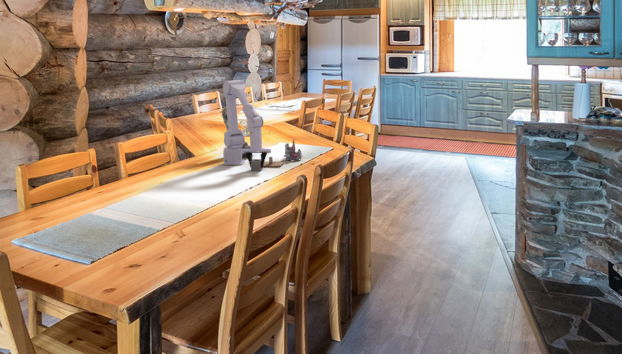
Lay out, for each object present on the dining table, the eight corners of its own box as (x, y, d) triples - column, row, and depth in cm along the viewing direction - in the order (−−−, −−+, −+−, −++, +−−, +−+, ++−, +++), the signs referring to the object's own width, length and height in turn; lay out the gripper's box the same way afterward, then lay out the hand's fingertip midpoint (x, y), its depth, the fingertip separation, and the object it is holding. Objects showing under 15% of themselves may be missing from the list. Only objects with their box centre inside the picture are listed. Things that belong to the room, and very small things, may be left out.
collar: (251, 171, 284) (250, 161, 283) (253, 168, 289) (252, 159, 288) (260, 171, 284) (260, 161, 282) (262, 168, 288) (262, 159, 287)
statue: (224, 163, 313) (208, 110, 312) (230, 162, 332) (215, 112, 330) (253, 154, 312) (237, 102, 311) (257, 154, 331) (242, 104, 329)
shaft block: (257, 167, 292) (257, 158, 291) (261, 163, 302) (261, 155, 301) (280, 167, 291) (280, 158, 290) (283, 163, 300) (283, 155, 299)
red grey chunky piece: (305, 157, 304) (291, 139, 303) (289, 169, 306) (275, 151, 305) (306, 153, 315) (293, 136, 314) (291, 164, 318) (278, 148, 316)
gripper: (239, 141, 280) (240, 168, 283) (268, 141, 278) (269, 169, 281) (243, 139, 287) (244, 165, 290) (271, 139, 285) (272, 166, 288)
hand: (256, 167), depth 286 cm, fingers closed on collar, 5 cm apart
